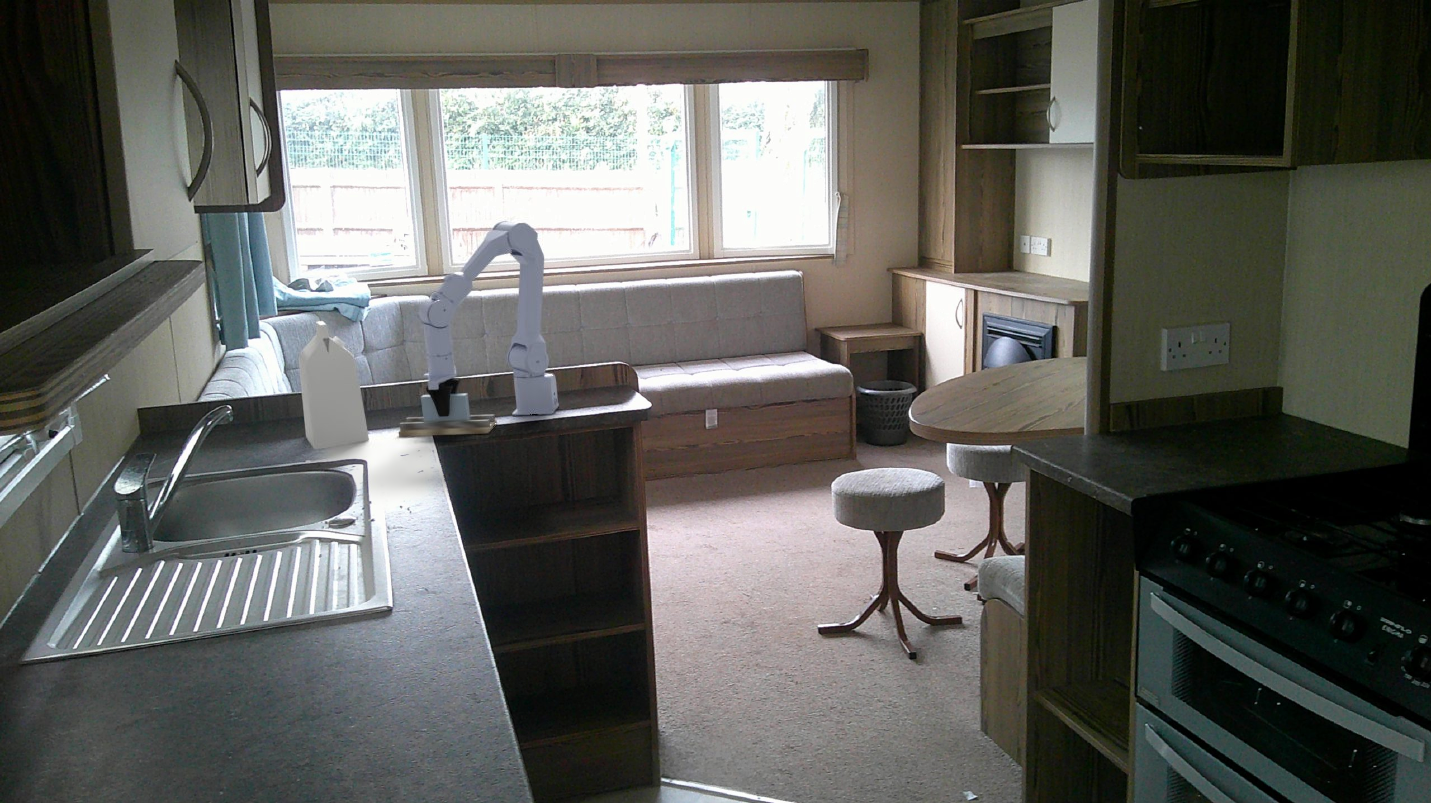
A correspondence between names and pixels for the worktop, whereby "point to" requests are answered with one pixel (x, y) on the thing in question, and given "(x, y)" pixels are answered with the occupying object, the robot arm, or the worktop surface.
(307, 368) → the milk
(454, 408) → the door panel
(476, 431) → the track board
